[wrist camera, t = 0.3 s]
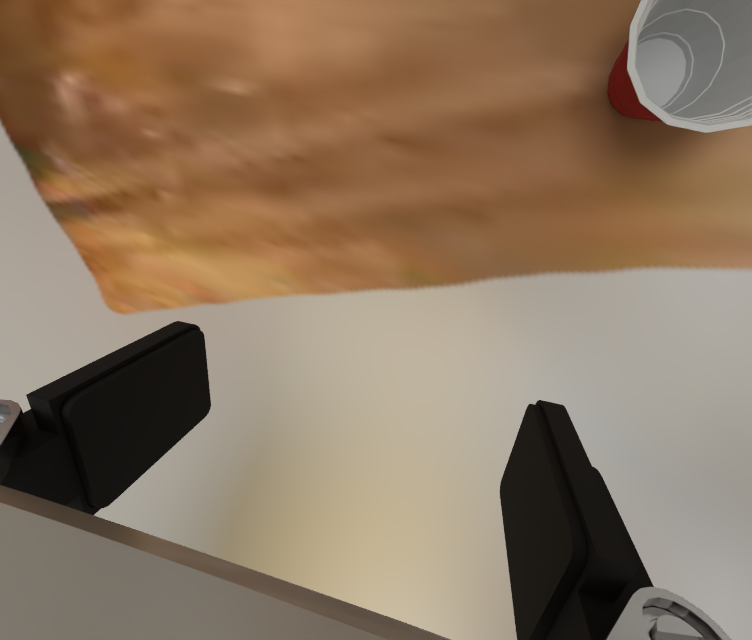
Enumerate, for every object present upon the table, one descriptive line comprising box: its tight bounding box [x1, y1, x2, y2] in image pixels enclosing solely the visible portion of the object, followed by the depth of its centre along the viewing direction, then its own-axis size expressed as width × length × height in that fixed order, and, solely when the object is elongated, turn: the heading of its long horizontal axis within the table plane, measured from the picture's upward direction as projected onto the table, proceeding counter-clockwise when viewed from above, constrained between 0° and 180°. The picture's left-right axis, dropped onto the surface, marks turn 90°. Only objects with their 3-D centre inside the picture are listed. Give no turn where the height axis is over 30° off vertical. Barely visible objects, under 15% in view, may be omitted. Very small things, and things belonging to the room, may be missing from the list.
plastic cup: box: [608, 0, 752, 133], centre depth 23 cm, size 11×11×12 cm
